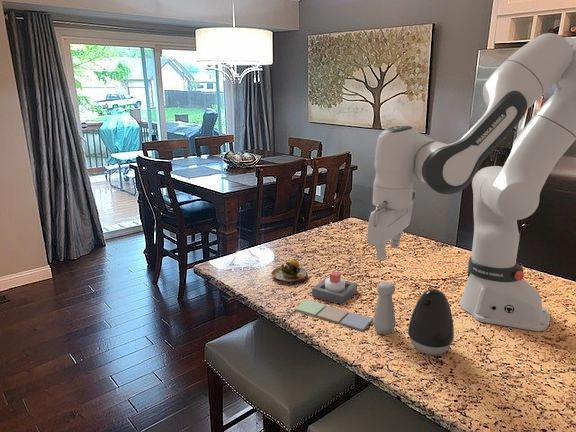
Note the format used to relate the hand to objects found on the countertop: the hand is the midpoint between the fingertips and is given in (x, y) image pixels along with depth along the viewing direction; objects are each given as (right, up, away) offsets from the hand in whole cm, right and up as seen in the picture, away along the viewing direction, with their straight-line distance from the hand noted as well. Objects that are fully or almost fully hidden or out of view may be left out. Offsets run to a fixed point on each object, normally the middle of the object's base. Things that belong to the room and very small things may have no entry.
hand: (388, 252), depth 105 cm
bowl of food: (-24, -12, +38) cm, 46 cm away
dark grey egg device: (+9, -23, -2) cm, 25 cm away
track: (-12, -18, +13) cm, 26 cm away
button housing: (-10, -14, +26) cm, 31 cm away
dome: (-10, -14, +26) cm, 31 cm away
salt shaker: (0, -20, +6) cm, 21 cm away
